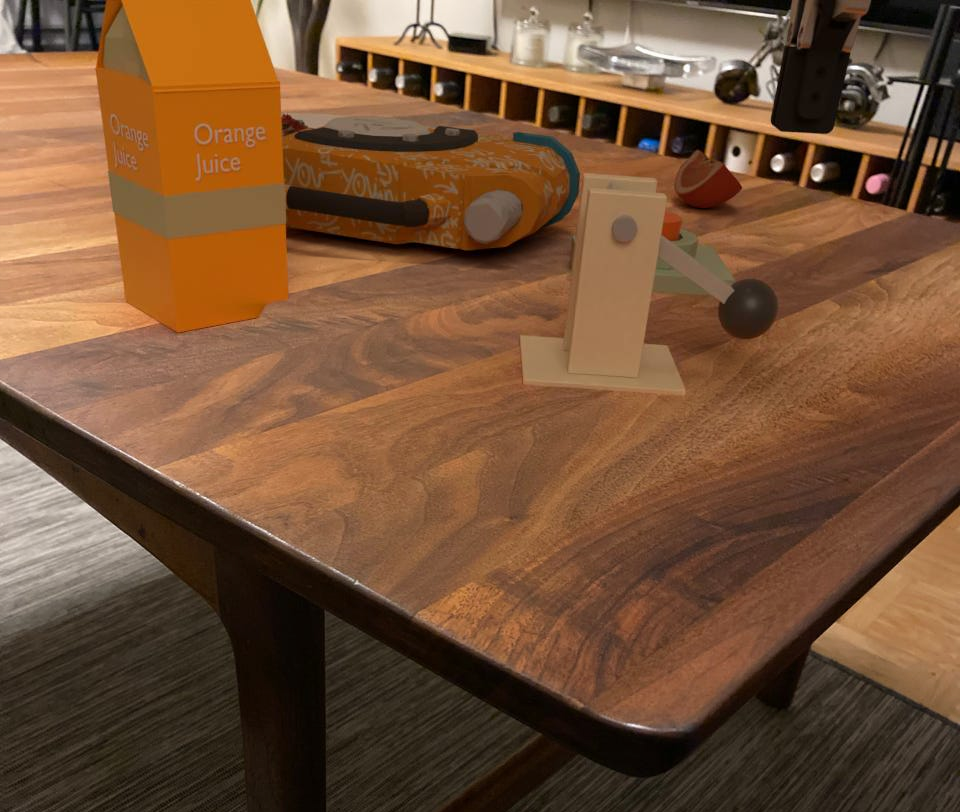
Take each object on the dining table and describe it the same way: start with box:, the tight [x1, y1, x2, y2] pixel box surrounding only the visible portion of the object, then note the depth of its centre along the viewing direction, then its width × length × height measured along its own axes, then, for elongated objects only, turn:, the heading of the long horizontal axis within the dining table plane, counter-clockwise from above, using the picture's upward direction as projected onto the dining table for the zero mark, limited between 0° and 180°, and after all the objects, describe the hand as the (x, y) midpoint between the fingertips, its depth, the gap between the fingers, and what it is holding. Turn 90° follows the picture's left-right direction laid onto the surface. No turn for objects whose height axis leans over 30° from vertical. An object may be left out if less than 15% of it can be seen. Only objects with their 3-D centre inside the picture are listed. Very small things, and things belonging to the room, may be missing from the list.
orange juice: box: [94, 0, 289, 333], centre depth 67 cm, size 8×9×20 cm
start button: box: [661, 210, 683, 241], centre depth 82 cm, size 4×4×2 cm
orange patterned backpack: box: [282, 115, 581, 251], centre depth 90 cm, size 23×8×30 cm
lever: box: [606, 182, 779, 340], centre depth 62 cm, size 13×4×4 cm, turn 90°
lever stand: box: [519, 172, 687, 396], centre depth 63 cm, size 10×8×12 cm
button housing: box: [569, 228, 736, 297], centre depth 84 cm, size 12×10×4 cm
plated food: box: [281, 112, 349, 137], centre depth 117 cm, size 30×30×3 cm
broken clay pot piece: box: [673, 149, 743, 209], centre depth 108 cm, size 8×7×5 cm
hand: (800, 129), depth 58 cm, fingers closed
